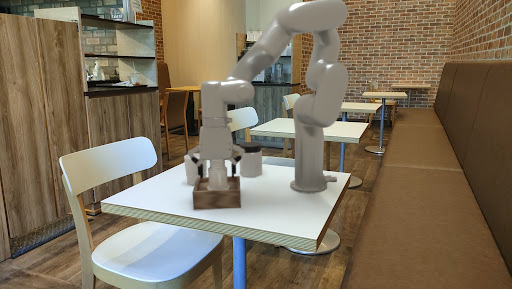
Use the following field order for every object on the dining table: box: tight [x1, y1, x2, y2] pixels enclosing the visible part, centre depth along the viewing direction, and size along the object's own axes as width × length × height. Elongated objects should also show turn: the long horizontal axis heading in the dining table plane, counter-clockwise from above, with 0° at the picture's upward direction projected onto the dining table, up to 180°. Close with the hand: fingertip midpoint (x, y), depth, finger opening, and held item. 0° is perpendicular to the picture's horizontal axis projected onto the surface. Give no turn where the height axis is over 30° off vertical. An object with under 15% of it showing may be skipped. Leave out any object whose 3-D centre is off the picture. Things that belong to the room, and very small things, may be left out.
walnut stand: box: [191, 175, 242, 211], centre depth 112 cm, size 14×14×6 cm
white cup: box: [183, 152, 208, 187], centre depth 129 cm, size 8×8×10 cm
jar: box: [239, 141, 263, 179], centre depth 138 cm, size 9×8×12 cm
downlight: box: [207, 159, 230, 190], centre depth 111 cm, size 8×7×10 cm
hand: (217, 176), depth 111 cm, fingers open, 9 cm apart
